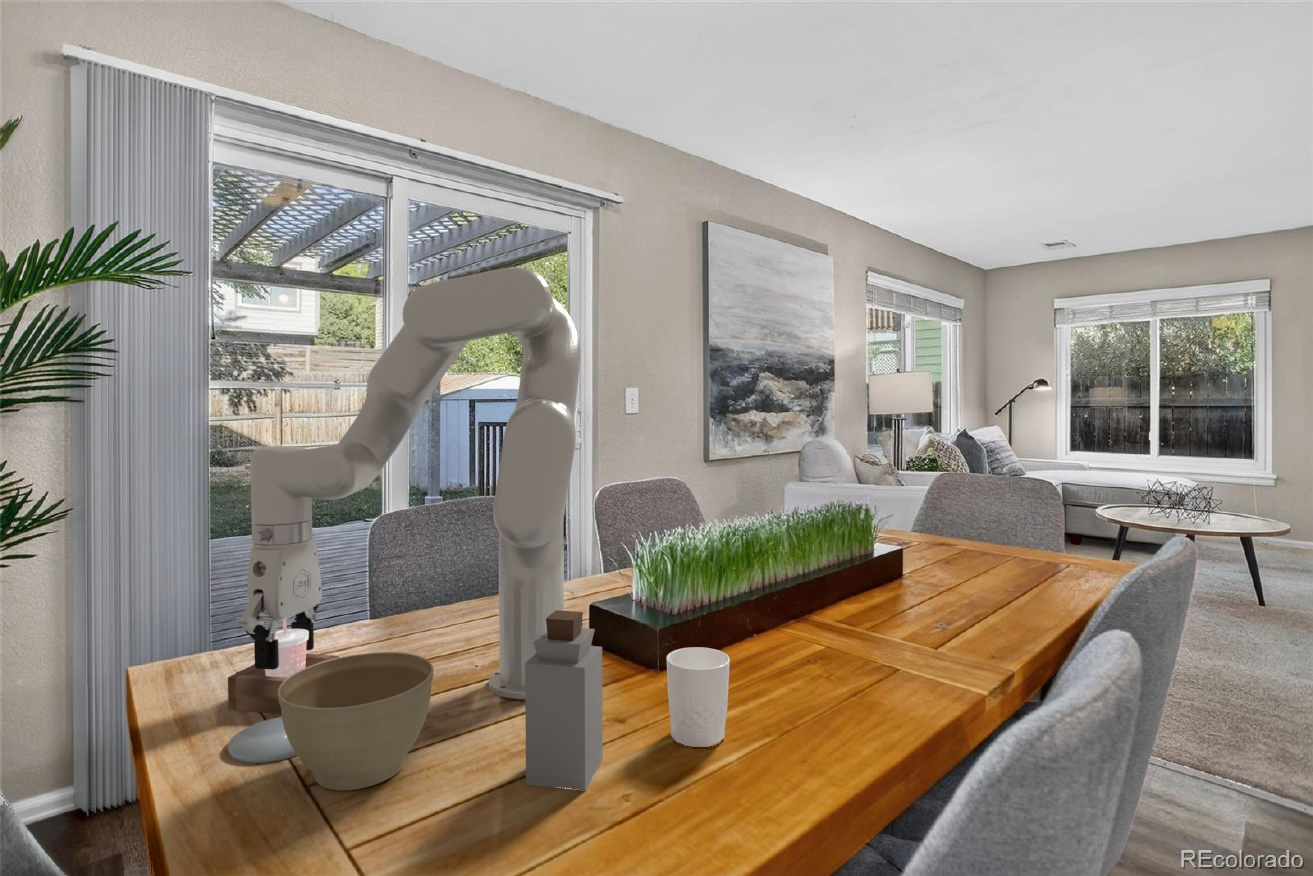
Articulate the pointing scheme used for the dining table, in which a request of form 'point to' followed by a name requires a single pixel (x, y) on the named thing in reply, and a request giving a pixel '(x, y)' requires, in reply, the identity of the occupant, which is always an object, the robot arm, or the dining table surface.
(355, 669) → the planter bowl
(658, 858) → the dining table surface
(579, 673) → the perfume bottle
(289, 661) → the beverage cup
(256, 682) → the square wooden frame
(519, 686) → the robot arm
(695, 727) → the white cup
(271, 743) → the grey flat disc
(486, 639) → the dining table surface
